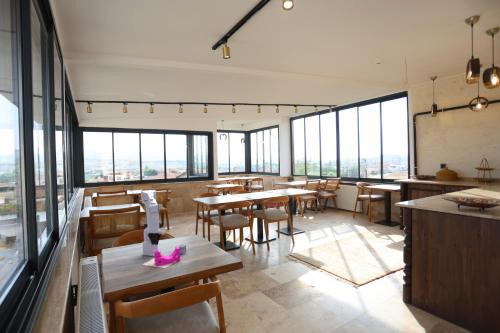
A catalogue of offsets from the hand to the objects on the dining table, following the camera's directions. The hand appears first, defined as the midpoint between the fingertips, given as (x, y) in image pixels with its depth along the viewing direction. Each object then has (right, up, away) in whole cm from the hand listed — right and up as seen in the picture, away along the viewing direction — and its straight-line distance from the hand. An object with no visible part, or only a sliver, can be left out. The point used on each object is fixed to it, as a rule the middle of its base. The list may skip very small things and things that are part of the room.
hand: (154, 244), depth 174 cm
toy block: (+9, -10, -2) cm, 14 cm away
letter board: (+5, -10, -1) cm, 11 cm away
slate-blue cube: (+13, -10, +14) cm, 21 cm away
